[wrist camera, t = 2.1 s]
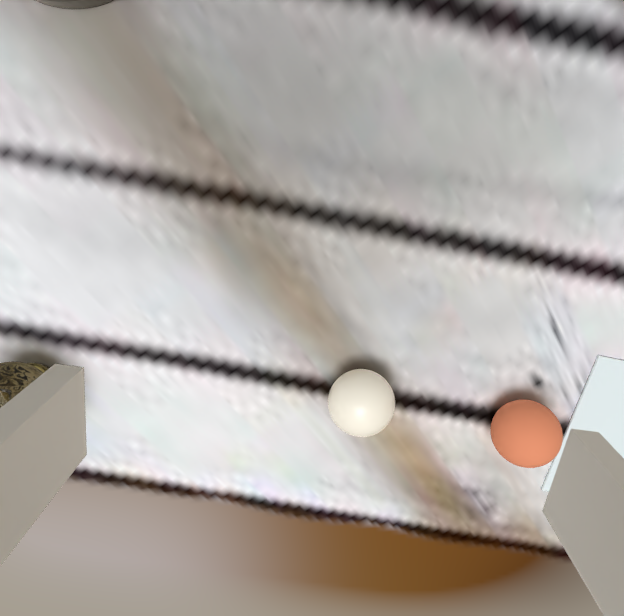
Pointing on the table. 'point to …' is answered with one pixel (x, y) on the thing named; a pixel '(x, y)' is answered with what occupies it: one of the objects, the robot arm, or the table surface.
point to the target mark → (598, 408)
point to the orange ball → (526, 433)
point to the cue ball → (361, 402)
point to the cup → (17, 378)
